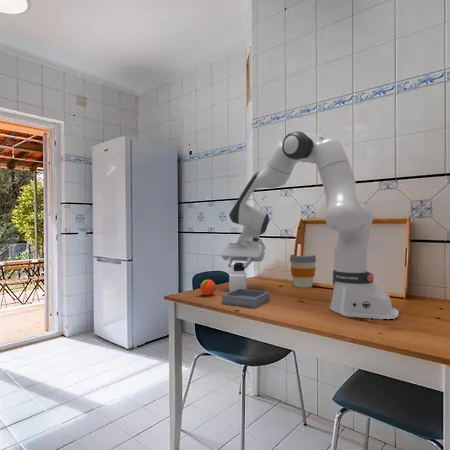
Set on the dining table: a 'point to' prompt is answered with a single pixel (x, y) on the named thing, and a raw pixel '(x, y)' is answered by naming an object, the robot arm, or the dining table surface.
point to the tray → (245, 298)
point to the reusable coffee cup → (303, 270)
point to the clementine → (207, 287)
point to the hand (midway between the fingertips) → (237, 267)
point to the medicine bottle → (237, 277)
